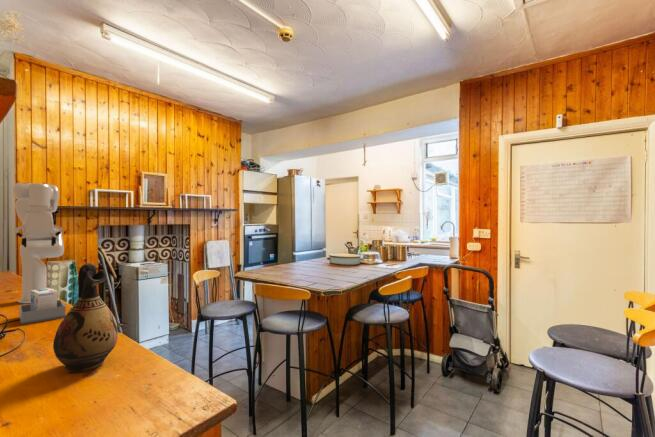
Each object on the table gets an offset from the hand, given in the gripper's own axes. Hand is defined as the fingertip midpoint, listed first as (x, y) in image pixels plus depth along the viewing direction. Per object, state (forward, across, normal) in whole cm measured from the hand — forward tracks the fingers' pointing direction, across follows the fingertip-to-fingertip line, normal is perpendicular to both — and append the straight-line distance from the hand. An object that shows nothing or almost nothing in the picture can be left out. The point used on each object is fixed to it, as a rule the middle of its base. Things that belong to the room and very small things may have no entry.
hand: (39, 246), depth 149 cm
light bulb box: (+30, -1, +14) cm, 33 cm away
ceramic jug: (+31, -5, +83) cm, 89 cm away
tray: (+30, 0, +14) cm, 33 cm away
